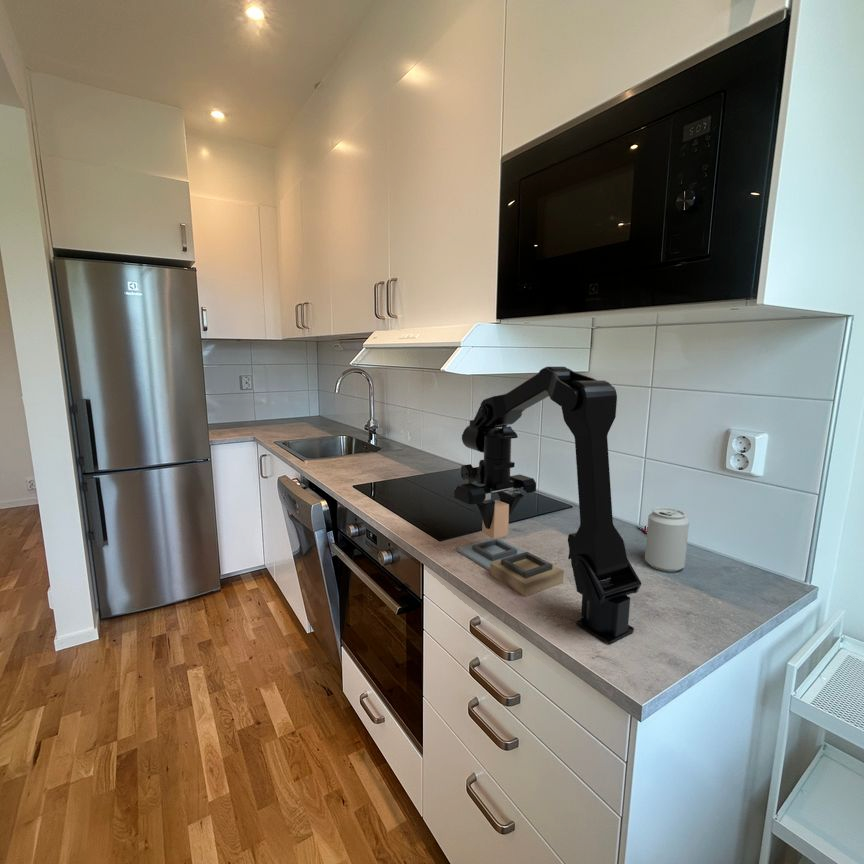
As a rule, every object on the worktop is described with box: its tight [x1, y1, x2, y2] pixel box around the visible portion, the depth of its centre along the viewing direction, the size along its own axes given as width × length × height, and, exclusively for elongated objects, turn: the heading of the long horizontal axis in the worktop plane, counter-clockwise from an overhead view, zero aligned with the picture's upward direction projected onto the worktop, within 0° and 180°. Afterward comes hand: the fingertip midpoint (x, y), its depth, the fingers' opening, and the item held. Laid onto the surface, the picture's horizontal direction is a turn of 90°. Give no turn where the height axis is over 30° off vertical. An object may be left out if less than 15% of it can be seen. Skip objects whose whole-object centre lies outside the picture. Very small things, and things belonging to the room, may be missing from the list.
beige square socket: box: [489, 551, 565, 597], centre depth 89 cm, size 10×10×4 cm
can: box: [644, 506, 690, 573], centre depth 95 cm, size 8×8×12 cm
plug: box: [481, 499, 510, 539], centre depth 99 cm, size 4×4×7 cm
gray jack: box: [456, 537, 527, 572], centre depth 100 cm, size 12×12×2 cm
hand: (495, 526), depth 99 cm, fingers closed on plug, 4 cm apart
